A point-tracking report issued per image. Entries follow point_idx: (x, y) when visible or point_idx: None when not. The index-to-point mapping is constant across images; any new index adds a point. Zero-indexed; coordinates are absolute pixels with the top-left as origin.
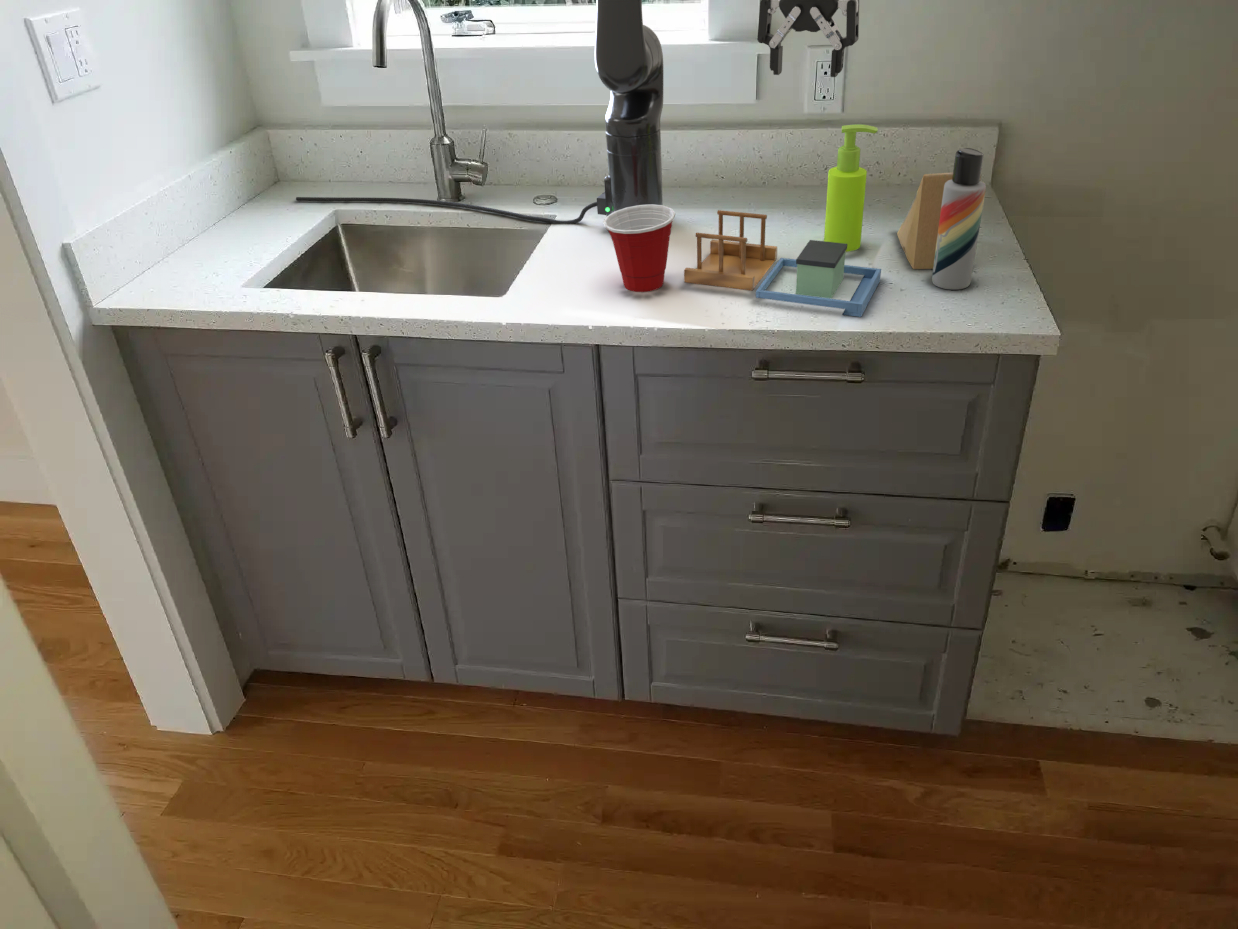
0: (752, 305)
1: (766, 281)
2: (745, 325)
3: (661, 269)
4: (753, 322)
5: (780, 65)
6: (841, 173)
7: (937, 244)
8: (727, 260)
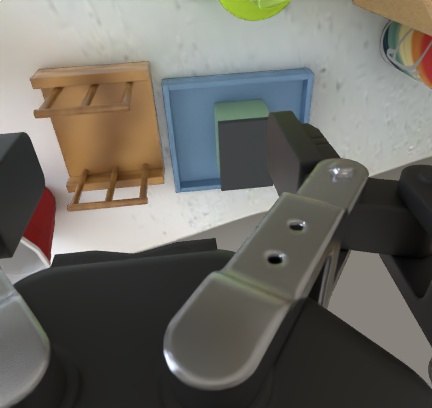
0: (174, 189)
1: (177, 166)
2: (187, 228)
3: (53, 223)
4: (192, 220)
5: (24, 169)
6: (249, 6)
7: (409, 67)
8: (82, 99)
